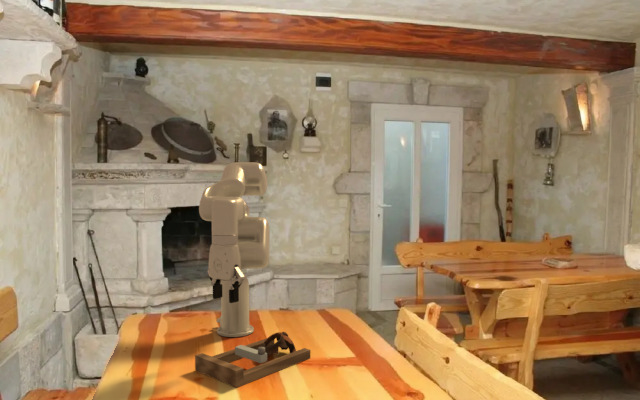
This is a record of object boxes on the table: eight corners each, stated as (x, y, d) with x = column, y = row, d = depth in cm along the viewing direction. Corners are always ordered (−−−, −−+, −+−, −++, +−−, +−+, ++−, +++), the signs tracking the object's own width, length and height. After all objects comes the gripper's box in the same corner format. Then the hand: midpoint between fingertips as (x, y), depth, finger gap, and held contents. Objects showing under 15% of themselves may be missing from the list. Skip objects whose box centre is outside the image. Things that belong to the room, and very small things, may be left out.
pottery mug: (297, 364, 154) (284, 342, 152) (270, 376, 156) (256, 354, 154) (301, 341, 166) (288, 320, 164) (275, 352, 168) (262, 332, 166)
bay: (195, 370, 148) (195, 355, 148) (269, 345, 170) (269, 331, 169) (236, 387, 136) (236, 370, 136) (310, 358, 158) (310, 343, 158)
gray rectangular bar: (235, 354, 153) (234, 341, 153) (241, 352, 155) (241, 339, 155) (260, 363, 146) (260, 349, 146) (267, 360, 148) (267, 347, 148)
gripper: (196, 239, 159) (197, 297, 160) (234, 244, 147) (234, 307, 148) (216, 236, 164) (217, 293, 165) (254, 241, 153) (254, 302, 154)
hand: (225, 299), depth 157 cm, fingers open, 6 cm apart
